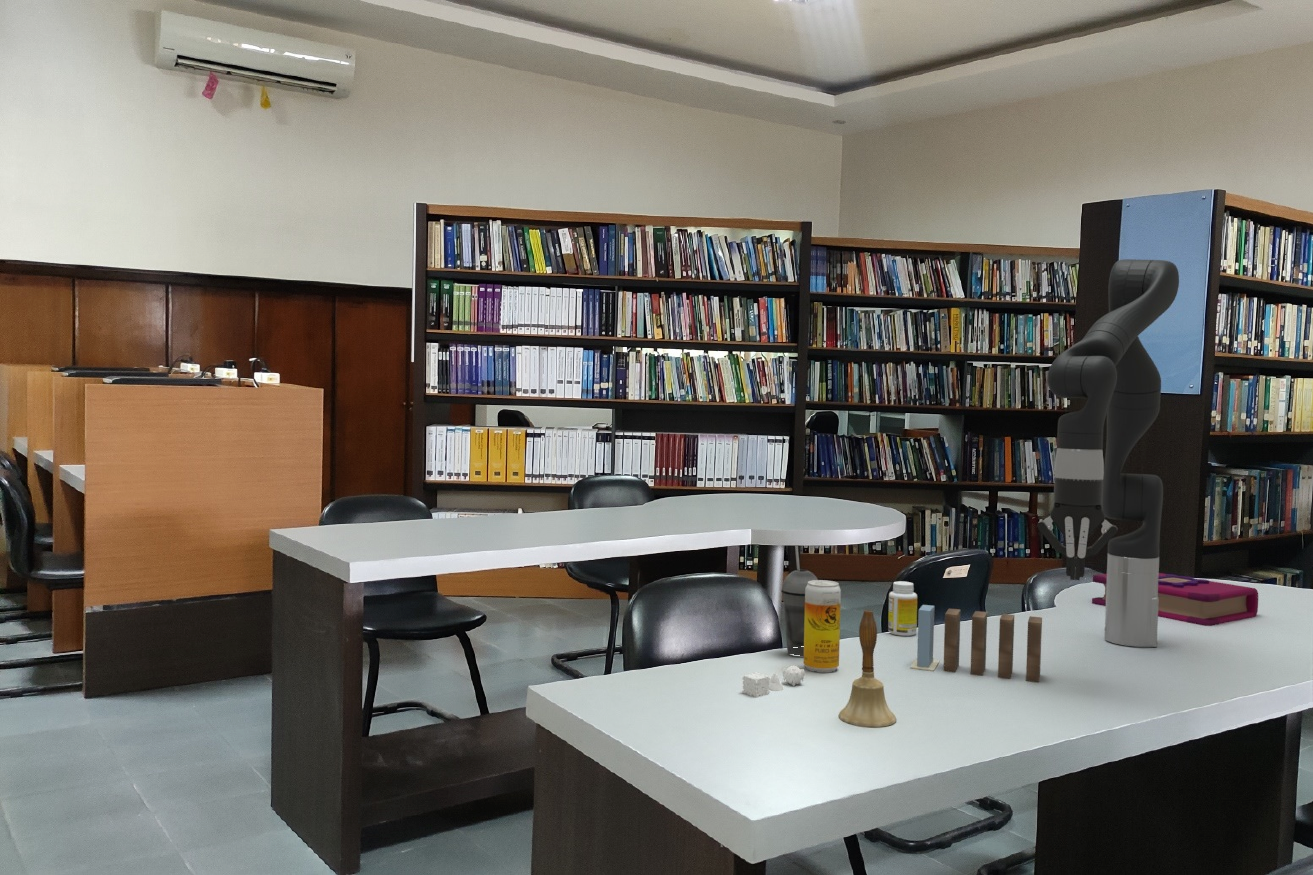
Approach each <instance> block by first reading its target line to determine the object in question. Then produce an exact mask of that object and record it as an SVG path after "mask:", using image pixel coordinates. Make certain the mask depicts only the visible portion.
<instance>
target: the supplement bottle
mask: <svg viewBox="0 0 1313 875" xmlns="http://www.w3.org/2000/svg"><path fill="white" fill-rule="evenodd" d="M892 585H893V586H892V591H889V593H888V617H887V618H888V620H887V621H888V624H887V625H888V626H887V627H888V628H887V630H888V632H889V633H890V634H891V635H893V636H902V637H910V636H915V635H916V634H917V631H918V625H917V624H918V619H917V618H918V594H917V593H916V592H914V590H915V588H914V583H913V582H909V581H904V580H903V581H901V580H899V581H894V582H893V583H892Z"/></svg>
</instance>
